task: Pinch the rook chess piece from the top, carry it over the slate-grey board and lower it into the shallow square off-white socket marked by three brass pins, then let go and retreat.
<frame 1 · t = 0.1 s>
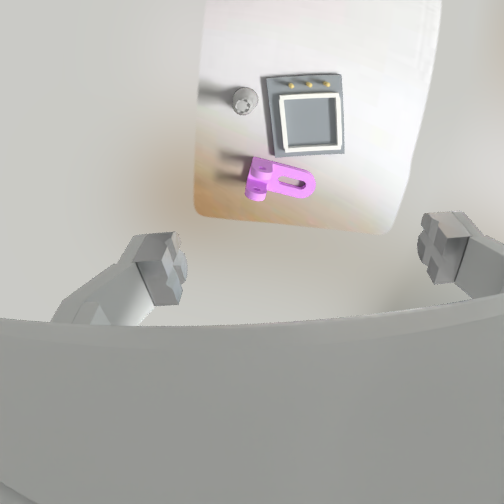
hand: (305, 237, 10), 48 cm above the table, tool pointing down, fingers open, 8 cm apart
bracket: (282, 177, 59), on the table
board: (307, 115, 51), on the table
rook chess piece: (245, 98, 50), on the table
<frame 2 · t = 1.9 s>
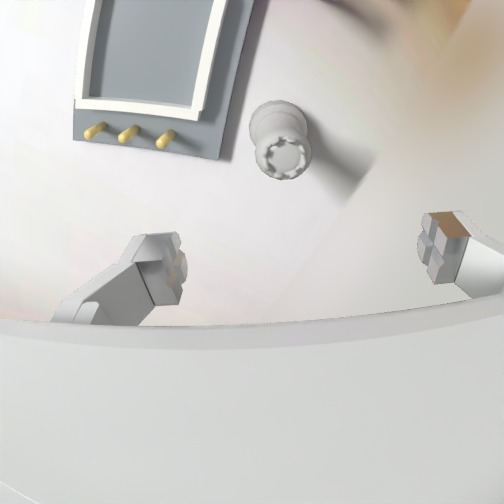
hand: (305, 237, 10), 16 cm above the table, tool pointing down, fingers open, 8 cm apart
board: (154, 56, 19), on the table
rook chess piece: (277, 125, 23), on the table
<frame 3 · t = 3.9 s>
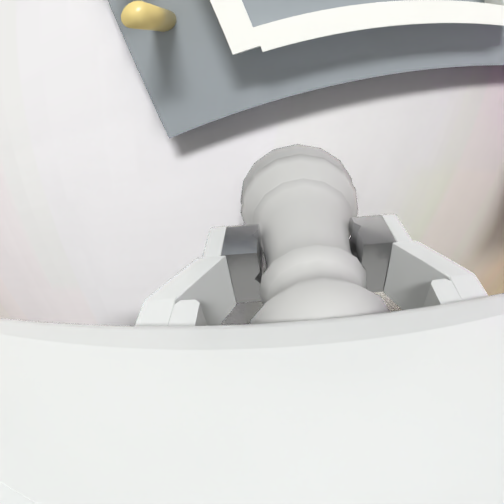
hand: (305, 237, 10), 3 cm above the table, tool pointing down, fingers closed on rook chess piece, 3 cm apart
rook chess piece: (296, 191, 12), on the table, touching gripper
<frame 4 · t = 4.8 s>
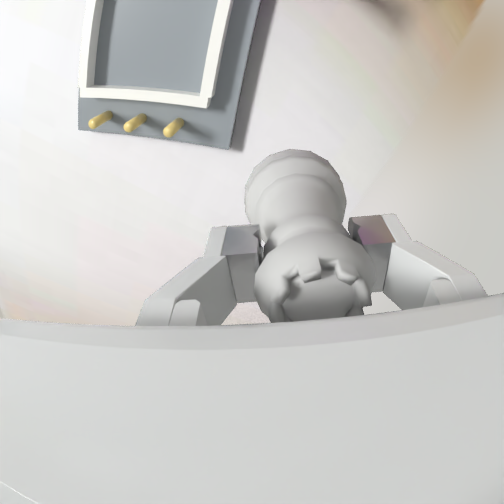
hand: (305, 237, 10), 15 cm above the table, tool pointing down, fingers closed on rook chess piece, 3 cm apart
board: (161, 42, 18), on the table
rook chess piece: (293, 192, 14), point 10 cm above the table, touching gripper
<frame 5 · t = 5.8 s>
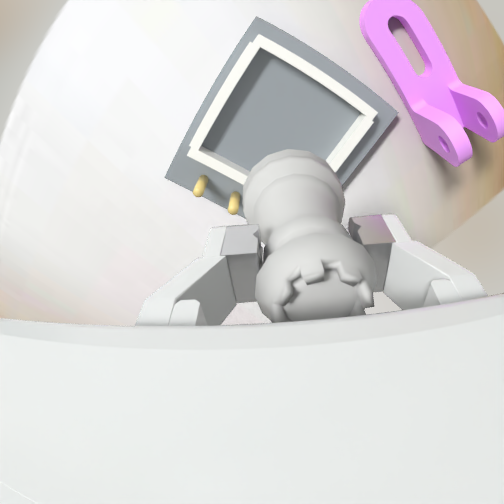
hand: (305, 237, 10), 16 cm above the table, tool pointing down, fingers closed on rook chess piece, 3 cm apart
bracket: (414, 65, 19), on the table
board: (278, 136, 24), on the table
rook chess piece: (290, 192, 14), point 11 cm above the table, touching gripper
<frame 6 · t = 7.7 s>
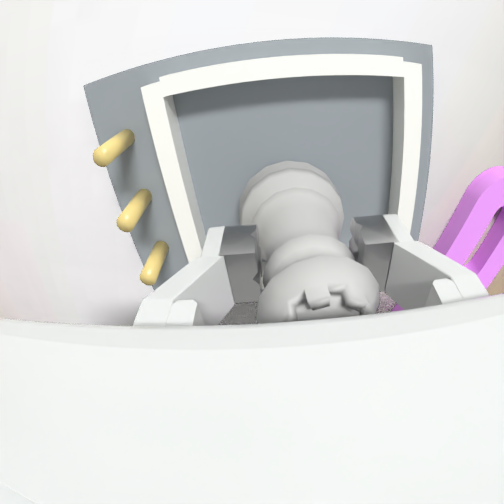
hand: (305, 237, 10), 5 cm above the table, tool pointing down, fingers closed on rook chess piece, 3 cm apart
bracket: (461, 252, 17), on the table
board: (272, 180, 14), on the table
rook chess piece: (288, 204, 14), point 1 cm above the table, touching board, gripper
when the fingers open (5 cm above the table, at t = 7.7 s): rook chess piece stays where it is, resting on board.
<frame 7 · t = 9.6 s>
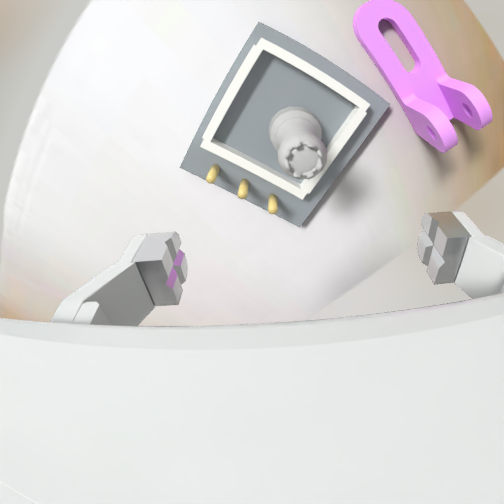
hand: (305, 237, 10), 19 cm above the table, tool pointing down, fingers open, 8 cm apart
bracket: (404, 62, 21), on the table
board: (282, 128, 26), on the table
rook chess piece: (294, 129, 25), point 1 cm above the table, touching board
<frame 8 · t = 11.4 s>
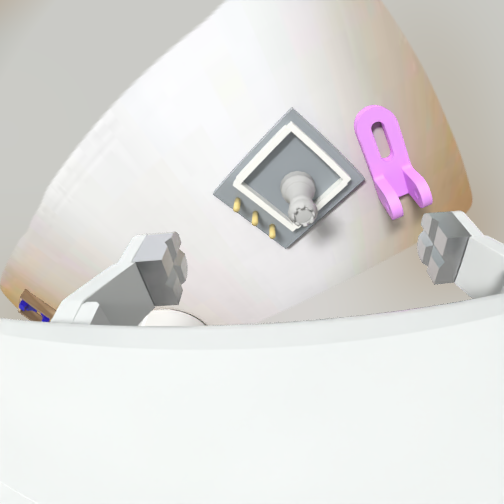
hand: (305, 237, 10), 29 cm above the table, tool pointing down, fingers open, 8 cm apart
bracket: (383, 150, 36), on the table
board: (288, 182, 40), on the table
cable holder: (40, 303, 58), resting in organizer frame
rook chess piece: (297, 185, 39), point 1 cm above the table, touching board
organizer frame: (42, 309, 59), on the table
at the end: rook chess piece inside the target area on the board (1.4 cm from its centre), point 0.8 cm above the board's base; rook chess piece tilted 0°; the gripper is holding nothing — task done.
